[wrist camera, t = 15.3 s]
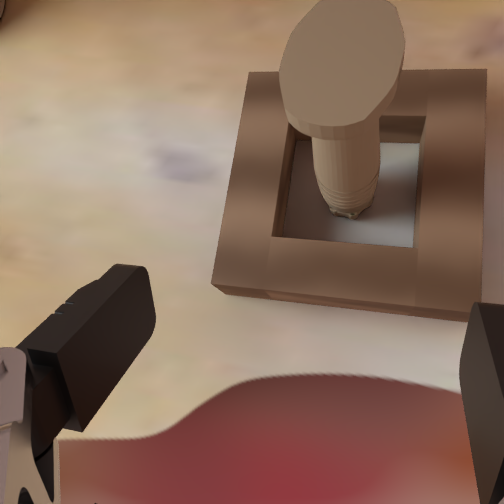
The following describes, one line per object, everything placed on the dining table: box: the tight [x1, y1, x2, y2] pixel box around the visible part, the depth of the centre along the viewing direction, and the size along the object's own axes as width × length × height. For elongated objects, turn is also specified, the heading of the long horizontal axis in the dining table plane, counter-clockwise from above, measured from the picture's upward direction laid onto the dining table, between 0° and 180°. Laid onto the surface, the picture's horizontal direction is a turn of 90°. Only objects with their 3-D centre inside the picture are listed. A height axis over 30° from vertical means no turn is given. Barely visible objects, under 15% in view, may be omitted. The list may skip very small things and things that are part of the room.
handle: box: [279, 0, 405, 220], centre depth 26 cm, size 5×6×15 cm
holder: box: [211, 69, 487, 322], centre depth 31 cm, size 16×16×4 cm
